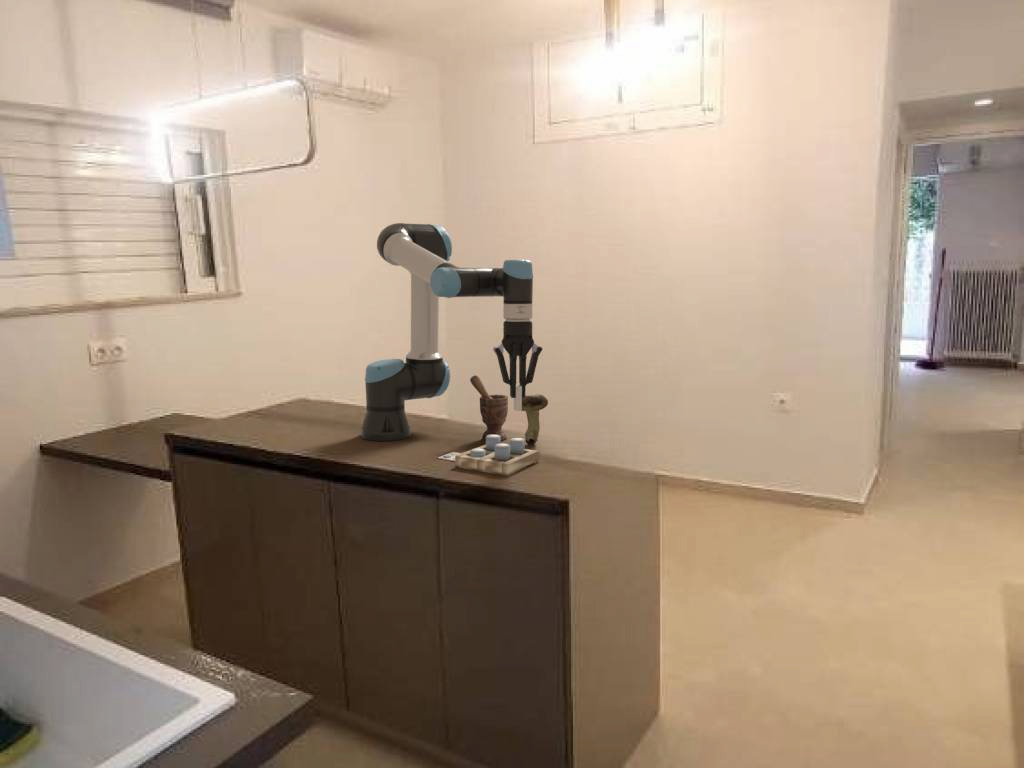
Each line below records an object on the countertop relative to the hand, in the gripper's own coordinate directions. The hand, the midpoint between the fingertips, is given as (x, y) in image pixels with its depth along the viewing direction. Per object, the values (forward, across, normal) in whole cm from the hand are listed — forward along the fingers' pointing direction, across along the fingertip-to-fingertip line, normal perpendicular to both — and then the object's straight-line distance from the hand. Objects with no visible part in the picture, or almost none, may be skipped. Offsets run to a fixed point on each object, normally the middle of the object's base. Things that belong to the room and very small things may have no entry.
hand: (517, 409), depth 188 cm
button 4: (+12, 0, 0) cm, 12 cm away
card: (+14, -15, +10) cm, 23 cm away
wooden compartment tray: (+15, -5, 0) cm, 15 cm away
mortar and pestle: (+15, -1, +29) cm, 32 cm away
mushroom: (+15, +9, +19) cm, 26 cm away
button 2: (+12, -5, +6) cm, 14 cm away
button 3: (+12, -5, -5) cm, 14 cm away
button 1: (+14, -11, 0) cm, 18 cm away
